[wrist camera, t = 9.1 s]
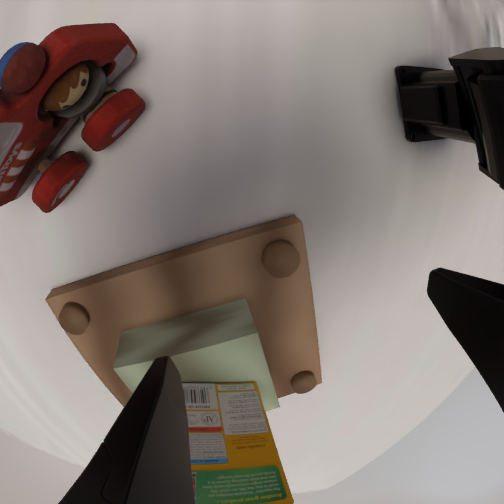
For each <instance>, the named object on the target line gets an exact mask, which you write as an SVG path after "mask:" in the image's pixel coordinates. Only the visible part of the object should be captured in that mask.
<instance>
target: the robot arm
mask: <svg viewBox="0 0 504 504" xmlns="http://www.w3.org/2000/svg"><path fill="white" fill-rule="evenodd" d="M448 59H449V62H450V64H451V66H453V69H454V70H442V69H434V68H425V67H415V66H397V67H396V69H395V70H396V76H397V81H398V86H399V91H400V97H401V103H402V110H403V116H404V124H405V132H406V138H407V140H408V141H409V142H420V141H428V140H437V139H446V138H450V139H455V140H460V141H465V142H470V143H474V144H476V148H477V153H478V159H479V163H478V165H479V170H480V171H481V172H483V173H484V174H485V175H487V176H488V177H490V178H491V179H492V180H494V181H495V182H496V183H498V184H499V186H500V188H502V189H503V190H504V48H501V47H492V48H480V49H474V50H471V51H468V52H465V53H462V54H459V55H456V56H453V57H450V58H448ZM401 70H402V73H401ZM411 135H412V138H411ZM427 294H428V296H429V298H430V300H431V301H432V303H433V304H434V306H435V307H436V309H437V311H438V312H439V314H440V315H441V317H442V319H443V320H444V322H445V324H446V325H447V327H448V328H449V330H450V331H451V332H452V334H453V335H454V337H455V338H456V339H457V341H458V342H459V343H460V345H461V346H462V348H463V349H464V350H465V352H466V353H467V355H468V356H469V358H470V359H471V361H472V362H473V364H474V365H475V367H476V368H477V370H478V371H479V373H480V374H481V376H482V377H483V379H484V380H485V382H486V384H487V385H488V386H489V388H490V390H491V392H492V393H493V395H494V396H495V398H496V400H497V401H498V403H499V405H500V407H501V408H502V410H503V412H504V285H503V284H500V283H496V282H492V281H489V280H485V279H481V278H478V277H474V276H470V275H467V274H463V273H459V272H455V271H451V270H447V269H444V268H437V269H434V270H432V271H431V272H430V274H429V280H428V287H427ZM58 504H195V500H194V491H193V481H192V470H191V458H190V444H189V428H188V418H187V411H186V406H185V400H184V393H183V387H182V380H181V376H180V373H179V371H178V369H177V367H176V366H175V364H174V362H173V361H172V359H171V357H170V356H168V355H165V356H160V357H157V358H155V360H154V361H153V363H152V364H151V366H150V367H149V369H148V370H147V372H146V374H145V375H144V377H143V378H142V380H141V381H140V383H139V384H138V386H137V388H136V389H135V391H134V392H133V394H132V396H131V397H130V399H129V400H128V402H127V403H126V405H125V407H124V408H123V410H122V411H121V413H120V415H119V416H118V418H117V419H116V421H115V423H114V424H113V426H112V427H111V429H110V431H109V432H108V434H107V435H106V437H105V439H104V442H102V443H101V445H100V447H99V448H98V450H97V452H96V453H95V455H94V456H93V458H92V459H91V461H90V462H89V464H88V465H87V467H86V468H85V469H84V471H83V472H82V474H81V475H80V476H79V478H78V479H77V480H76V482H75V483H74V484H73V486H72V487H71V488H70V489H69V491H68V492H67V493H66V495H65V496H64V497H63V499H62V500H61V501H60V502H59V503H58Z"/></svg>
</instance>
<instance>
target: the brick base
mask: <svg viewBox="0 0 504 504" xmlns="http://www.w3.org/2000/svg"><path fill="white" fill-rule="evenodd" d="M45 300H46V301H47V303H48V305H49V306H50V308H51V310H52V311H53V313H54V315H55V316H56V318H57V320H58V321H59V323H60V325H61V327H62V328H63V329H64V331H65V332H66V334H67V335H68V337H69V338H70V339H71V341H72V342H73V344H74V345H75V347H76V348H77V350H78V351H79V352H80V354H81V355H82V356H83V358H84V359H85V360H86V362H87V363H88V364H89V366H90V367H91V368H92V370H93V371H94V372H95V374H96V375H97V376H98V377H99V379H100V380H101V381H102V382H103V383H104V385H105V386H106V387H107V388H108V389H109V391H110V392H111V393H112V394H113V395H114V396H115V398H116V399H117V400H118V401H119V402H120V403H121V404H122V405H123V407H125V405H126V403H127V402H128V400H129V399H130V397H131V396H132V394H133V392H134V391H135V389H136V388H137V386H138V384H139V383H140V381H141V380H142V378H143V377H144V375H145V374H146V372H147V370H148V369H149V367H150V366H151V364H152V363H153V361H154V360H155V358H157V357H160V356H165V355H168V356H170V357H171V359H172V361H173V362H174V364H175V366H176V367H177V369H178V371H179V373H180V376H181V380H182V383H215V384H220V383H247V382H252V381H255V382H256V383H257V385H258V388H259V391H260V395H261V399H262V402H263V406H264V409H265V411H268V410H271V409H275V408H278V407H280V405H279V402H278V398H280V397H283V396H286V395H289V394H292V393H295V392H296V393H299V394H302V393H306V392H309V391H310V390H312V389H313V388H314V387H315V386H316V385H318V384H320V383H322V378H321V367H320V356H319V346H318V337H317V328H316V319H315V311H314V303H313V295H312V287H311V280H310V272H309V265H308V259H307V252H306V245H305V239H304V233H303V226H302V221H301V220H299V219H298V218H297V217H296V216H295V215H293V216H289V217H285V218H282V219H278V220H275V221H271V222H268V223H264V224H261V225H257V226H254V227H250V228H247V229H243V230H240V231H236V232H233V233H229V234H226V235H223V236H219V237H216V238H213V239H209V240H206V241H202V242H199V243H196V244H192V245H189V246H186V247H183V248H179V249H176V250H173V251H170V252H166V253H163V254H160V255H157V256H153V257H150V258H147V259H144V260H141V261H137V262H134V263H131V264H128V265H125V266H122V267H119V268H116V269H112V270H109V271H106V272H103V273H100V274H97V275H94V276H91V277H88V278H85V279H82V280H79V281H76V282H73V283H70V284H67V285H64V286H61V287H58V288H55V289H52V290H51V292H50V293H49V295H48V296H47V298H46V299H45Z"/></svg>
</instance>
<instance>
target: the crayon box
mask: <svg viewBox="0 0 504 504" xmlns="http://www.w3.org/2000/svg"><path fill="white" fill-rule="evenodd" d="M182 387H183V393H184V400H185V406H186V411H187V418H188V428H189V444H190V458H191V470H192V481H193V491H194V500H195V504H293V503H294V500H293V497H292V495H291V492H290V489H289V486H288V482H287V479H286V476H285V473H284V470H283V467H282V464H281V461H280V458H279V455H278V451H277V448H276V445H275V442H274V439H273V435H272V432H271V429H270V426H269V422H268V419H267V416H266V412H265V409H264V406H263V402H262V399H261V395H260V391H259V388H258V385H257V383H256V382H255V381H252V382H247V383H220V384H215V383H182Z"/></svg>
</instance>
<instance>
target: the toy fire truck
mask: <svg viewBox="0 0 504 504" xmlns="http://www.w3.org/2000/svg"><path fill="white" fill-rule="evenodd" d="M136 56H137V50H136V48H135V47H134V45H133V44H132V42H131V41H130V39H129V37H128V36H127V35H126V34H125V33H124V32H123V31H122V30H121V29H120V28H119V27H118V26H117V25H116V24H114V23H103V24H100V23H98V24H83V25H70V26H64V27H60V28H58V29H56V30H55V31H53V32H51V33H50V34H49V35H48V36H46V37H45V38H44V40H43V41H42V42H41V43H40V44H39V45H36V44H34V43H29V42H24V43H19V44H17V45H15V46H13V47H12V48H10V49H9V50H8V51H7V52H6V53H5V54H4V55H3V56H2V58H1V60H0V88H1V89H0V206H2V205H4V204H7V203H8V202H11V201H13V200H15V199H17V198H19V197H20V196H21V195H22V194H24V192H25V191H26V190H27V189H28V187H29V186H30V184H31V183H32V181H33V179H34V178H35V176H36V175H37V173H38V172H39V171H40V172H41V173H42V175H41V177H40V179H39V180H38V181H37V183H36V185H35V187H34V189H33V192H32V199H33V202H34V203H35V204H36V205H37V206H38V207H39V208H40V209H41V210H42V211H43V212H45V213H48V212H51V211H52V210H53V209H55V208H56V207H57V206H58V205H59V204H60V203H61V202H62V201H63V200H64V199H65V198H66V197H67V195H68V194H69V193H70V192H71V191H72V190H73V188H74V187H75V186H76V184H77V183H78V182H79V180H80V179H81V177H82V176H83V174H84V172H85V170H86V167H87V166H86V162H85V161H84V160H83V159H82V158H81V157H80V156H79V155H78V154H77V153H76V152H75V151H68V152H66V153H65V154H63V155H62V156H60V157H59V158H57V159H56V160H55V161H54V162H53V163H51V161H50V158H51V156H52V153H53V150H54V149H55V147H56V146H57V145H58V143H59V142H60V141H61V139H62V138H63V137H64V136H65V134H66V133H67V132H68V130H69V129H70V128H71V127H72V125H73V124H74V123H75V122H76V121H77V119H78V118H79V117H81V119H82V120H83V121H84V122H85V123H86V124H85V126H84V128H83V130H82V133H81V137H82V139H83V140H84V141H85V142H86V144H87V145H88V146H89V147H90V148H91V149H92V150H93V151H96V152H97V151H101V150H103V149H105V148H106V147H108V146H109V145H110V144H111V143H113V142H114V141H115V140H116V139H117V138H119V137H120V136H121V135H122V134H123V133H124V132H125V131H126V130H127V129H128V128H129V127H130V126H131V125H132V124H133V123H134V122H135V120H136V119H137V118H138V117H139V116H140V114H141V113H142V111H143V110H144V108H145V103H144V101H143V99H142V98H141V97H140V96H139V95H138V94H137V93H136V92H135V91H134V90H132V89H124V90H122V91H120V92H118V93H117V91H116V90H114V89H112V88H111V87H107V86H108V85H109V84H110V83H111V82H112V81H113V80H115V79H116V78H117V77H118V76H119V75H120V74H121V73H122V72H123V71H124V70H125V69H126V68H127V67H128V66H129V65H130V64H131V63H132V62H133V61H134V60H135V58H136ZM46 110H48V111H46Z"/></svg>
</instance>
